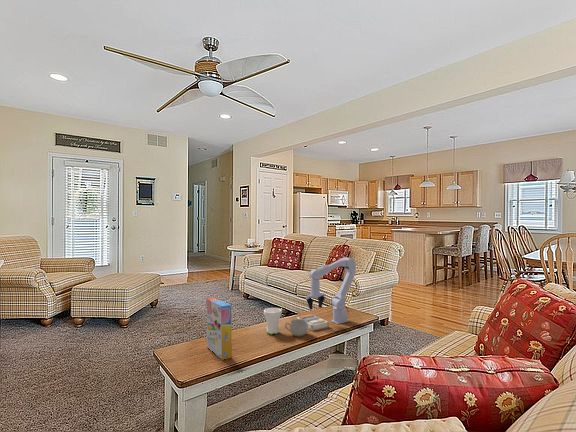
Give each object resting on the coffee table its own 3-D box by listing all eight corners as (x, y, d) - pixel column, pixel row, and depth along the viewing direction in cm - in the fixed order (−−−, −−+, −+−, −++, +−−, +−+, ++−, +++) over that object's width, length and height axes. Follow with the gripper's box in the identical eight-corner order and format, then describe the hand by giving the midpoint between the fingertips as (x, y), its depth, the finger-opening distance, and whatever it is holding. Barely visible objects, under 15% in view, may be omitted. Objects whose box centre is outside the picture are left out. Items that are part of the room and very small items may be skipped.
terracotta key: (311, 317, 228) (311, 314, 228) (314, 319, 225) (314, 315, 225) (299, 319, 223) (299, 316, 223) (302, 321, 220) (302, 317, 220)
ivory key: (321, 322, 218) (321, 318, 218) (324, 323, 215) (324, 320, 215) (309, 324, 213) (309, 321, 213) (312, 326, 210) (312, 322, 210)
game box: (232, 358, 169) (231, 304, 169) (222, 360, 166) (221, 306, 166) (215, 345, 186) (215, 296, 186) (206, 347, 183) (205, 298, 183)
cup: (273, 328, 212) (273, 306, 212) (285, 332, 205) (285, 310, 204) (260, 333, 205) (259, 310, 205) (272, 337, 197) (271, 313, 197)
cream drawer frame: (311, 319, 231) (311, 314, 231) (328, 327, 214) (328, 322, 214) (295, 322, 224) (295, 317, 224) (312, 331, 207) (312, 325, 207)
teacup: (308, 331, 206) (308, 319, 206) (307, 338, 195) (307, 324, 195) (286, 331, 207) (285, 318, 207) (284, 337, 197) (284, 324, 197)
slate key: (316, 320, 223) (316, 316, 223) (319, 321, 220) (319, 317, 220) (304, 322, 218) (304, 318, 218) (307, 323, 215) (307, 320, 215)
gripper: (320, 285, 228) (320, 305, 228) (302, 288, 220) (303, 308, 220) (326, 287, 222) (327, 307, 222) (308, 290, 214) (309, 311, 214)
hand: (315, 308), depth 221 cm, fingers open, 7 cm apart
